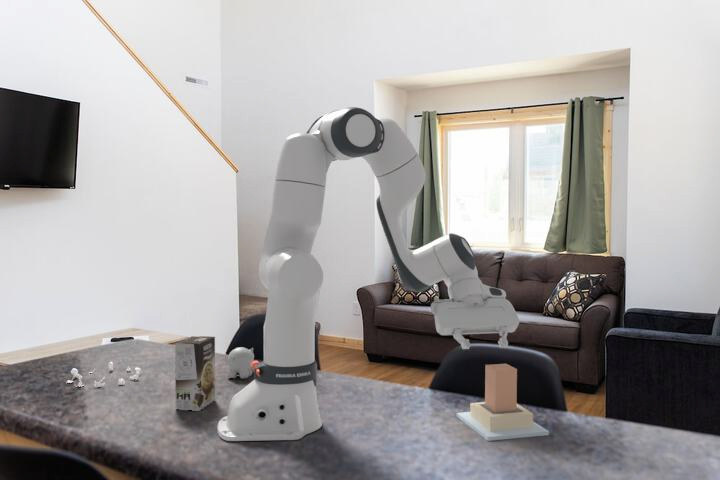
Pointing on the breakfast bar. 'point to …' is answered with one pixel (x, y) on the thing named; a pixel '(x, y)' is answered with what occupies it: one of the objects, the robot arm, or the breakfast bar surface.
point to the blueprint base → (504, 432)
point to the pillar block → (501, 387)
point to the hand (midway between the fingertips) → (485, 346)
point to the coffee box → (195, 372)
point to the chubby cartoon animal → (240, 362)
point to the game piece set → (75, 372)
